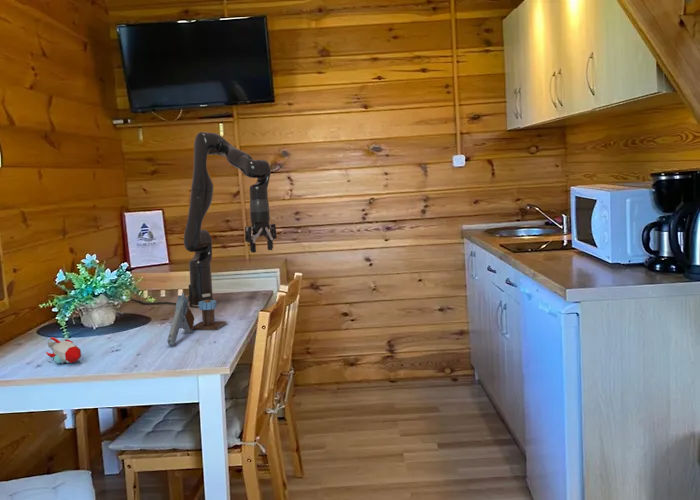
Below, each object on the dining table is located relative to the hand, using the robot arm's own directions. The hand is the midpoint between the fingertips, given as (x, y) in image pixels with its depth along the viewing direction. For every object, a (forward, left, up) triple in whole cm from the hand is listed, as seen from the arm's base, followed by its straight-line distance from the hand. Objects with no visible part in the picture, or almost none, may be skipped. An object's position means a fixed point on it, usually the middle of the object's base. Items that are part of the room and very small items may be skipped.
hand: (261, 251), depth 267 cm
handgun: (-17, -42, -25) cm, 52 cm away
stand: (-14, -24, -25) cm, 38 cm away
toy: (-47, -66, -26) cm, 85 cm away
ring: (-14, -24, -18) cm, 33 cm away
